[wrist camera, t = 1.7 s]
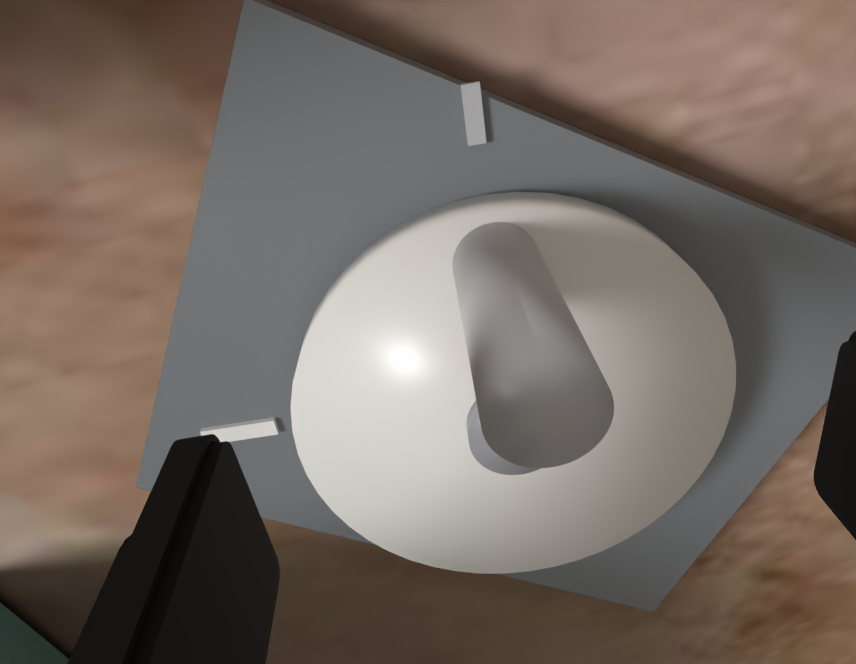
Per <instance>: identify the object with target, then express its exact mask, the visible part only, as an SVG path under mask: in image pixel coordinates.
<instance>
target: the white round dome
mask: <svg viewBox="0 0 856 664" xmlns="http://www.w3.org/2000/svg"><path fill="white" fill-rule="evenodd" d="M735 390H736V360H735V354H734V347H733V340H732V337H731V334H730V331H729V328H728V325H727V322H726V319H725V316H724V314H723V313H722V311H721V309H720V307H719V305H718V303H717V301H716V299H715V298H714V296H713V294H712V293H711V291H710V290H709V289H708V287H707V286H706V285H705V284H704V282H703V281H702V280H701V278H700V277H699V276H698V274H697V273H696V272H695V271H694V270H693V269H692V268H691V267H690V266H689V265H688V264H687V263H686V262H685V261H684V260H683V259H682V258H681V257H680V256H679V255H678V254H677V253H676V252H675V251H674V250H673V249H671V248H670V247H669V246H668V245H667V244H666V243H665V242H664V241H663V240H662V239H661V238H660V237H658V236H657V235H656V234H655V233H653V232H652V231H650V230H649V229H647V228H646V227H644V226H643V225H641V224H640V223H638V222H637V221H635V220H634V219H632V218H630V217H628V216H626V215H624V214H622V213H619V212H617V211H615V210H613V209H611V208H609V207H607V206H603V205H600V204H597V203H594V202H590V201H587V200H584V199H581V198H577V197H571V196H565V195H558V194H552V193H541V192H508V193H498V194H488V195H481V196H477V197H472V198H468V199H464V200H459V201H455V202H451V203H448V204H446V205H443V206H440V207H437V208H435V209H432V210H429V211H427V212H424V213H421V214H419V215H418V216H416V217H414V218H412V219H410V220H408V221H406V222H404V223H402V224H400V225H398V226H396V227H394V228H393V229H391V230H390V231H389V232H387V233H386V234H384V235H383V236H381V237H380V238H379V239H377V240H376V241H374V242H373V243H371V244H370V245H369V246H368V247H366V248H365V249H364V250H363V251H362V252H361V253H360V254H359V255H358V256H357V257H356V258H354V259H353V260H352V261H351V262H350V263H349V264H348V265H347V266H346V267H345V268H344V270H343V271H342V272H341V273H340V274H339V276H338V277H337V278H336V279H335V281H334V282H333V283H332V284H331V285H330V287H329V288H328V290H327V291H326V293H325V295H324V296H323V298H322V300H321V301H320V303H319V305H318V306H317V308H316V309H315V312H314V314H313V317H312V319H311V321H310V324H309V326H308V328H307V331H306V333H305V337H304V340H303V344H302V348H301V352H300V355H299V359H298V363H297V367H296V371H295V375H294V379H293V383H292V395H291V407H290V408H291V421H292V432H293V436H294V440H295V444H296V449H297V453H298V456H299V458H300V460H301V463H302V465H303V467H304V470H305V472H306V475H307V476H308V478H309V480H310V481H311V483H312V484H313V486H314V488H315V489H316V491H317V493H318V494H319V495H320V497H321V498H322V499H323V500H324V502H325V503H326V504H327V505H328V506H329V508H330V509H331V510H332V511H333V512H334V513H335V514H336V515H337V516H338V517H339V518H340V519H341V520H343V521H344V522H345V523H346V524H347V525H348V526H349V527H350V528H352V529H353V530H355V531H356V532H357V533H359V534H360V535H362V536H363V537H364V538H366V539H367V540H369V541H371V542H372V543H374V544H376V545H378V546H380V547H382V548H383V549H385V550H387V551H389V552H391V553H394V554H396V555H399V556H401V557H404V558H406V559H408V560H411V561H415V562H418V563H421V564H425V565H428V566H432V567H436V568H441V569H447V570H452V571H458V572H469V573H480V574H505V573H516V572H527V571H534V570H540V569H545V568H550V567H555V566H559V565H563V564H566V563H570V562H574V561H577V560H580V559H583V558H585V557H588V556H591V555H593V554H596V553H599V552H601V551H604V550H606V549H608V548H610V547H612V546H614V545H616V544H618V543H620V542H622V541H624V540H626V539H628V538H629V537H631V536H632V535H634V534H636V533H637V532H639V531H641V530H642V529H644V528H646V527H647V526H648V525H650V524H651V523H652V522H654V521H655V520H656V519H658V518H659V517H660V516H662V515H663V514H664V513H666V512H667V511H668V510H669V509H670V508H671V507H672V506H673V505H674V504H675V503H676V502H677V501H678V500H679V499H681V498H682V497H683V496H684V495H685V493H686V492H687V491H688V490H689V489H690V488H691V486H692V485H693V484H694V483H695V482H696V481H697V479H698V478H699V477H700V476H701V474H702V473H703V471H704V470H705V468H706V467H707V465H708V464H709V462H710V461H711V459H712V458H713V456H714V454H715V452H716V450H717V448H718V446H719V444H720V442H721V440H722V438H723V436H724V433H725V430H726V427H727V424H728V421H729V418H730V415H731V412H732V407H733V401H734V396H735Z"/></svg>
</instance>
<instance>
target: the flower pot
mask: <svg viewBox="0 0 856 664" xmlns="http://www.w3.org/2000/svg"><path fill="white" fill-rule="evenodd" d="M68 661H69V659H68V658H67V657H66V656H65V655H64V654H62V653H61V652H60V651H59V650H58V649H56V648H55V647H54V646H53V645H51V644H50V643H49V642H48V641H47V640H45V639H44V638H43V637H42V636H41V635H39V634H38V633H37V632H36V631H35V630H33V629H32V628H31V627H30V626H29V625H27V624H26V623H25V622H24V621H23V620H21V619H20V618H19V617H18V616H16V615H15V614H14V613H13V612H12V611H10V610H9V609H8V608H7V607H5V606H4V605H3V604H2V603H1V602H0V664H67V663H68Z"/></svg>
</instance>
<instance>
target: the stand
mask: <svg viewBox="0 0 856 664" xmlns="http://www.w3.org/2000/svg"><path fill="white" fill-rule="evenodd" d="M508 192H541V193H552V194H558V195H565V196H571V197H577V198H581V199H584V200H587V201H590V202H594V203H597V204H600V205H603V206H607V207H609V208H611V209H613V210H615V211H617V212H619V213H622V214H624V215H626V216H628V217H630V218H632V219H634V220H635V221H637V222H638V223H640V224H641V225H643V226H644V227H646V228H647V229H649V230H650V231H652V232H653V233H655V234H656V235H657V236H658V237H660V238H661V239H662V240H663V241H664V242H665V243H666V244H667V245H668V246H669V247H670V248H671V249H673V250H674V251H675V252H676V253H677V254H678V255H679V256H680V257H681V258H682V259H683V260H684V261H685V262H686V263H687V264H688V265H689V266H690V267H691V268H692V269H693V270H694V271H695V272H696V273H697V274H698V276H699V277H700V278H701V280H702V281H703V282H704V284H705V285H706V286H707V287H708V289H709V290H710V291H711V293H712V294H713V296H714V298H715V299H716V301H717V303H718V305H719V307H720V309H721V311H722V313H723V314H724V316H725V319H726V322H727V325H728V328H729V331H730V334H731V337H732V340H733V347H734V354H735V360H736V390H735V396H734V401H733V407H732V412H731V415H730V418H729V421H728V424H727V427H726V430H725V433H724V436H723V438H722V440H721V442H720V444H719V446H718V448H717V450H716V452H715V454H714V456H713V458H712V459H711V461H710V462H709V464H708V465H707V467H706V468H705V470H704V471H703V473H702V474H701V476H700V477H699V478H698V479H697V481H696V482H695V483H694V484H693V485H692V486H691V488H690V489H689V490H688V491H687V492H686V493H685V495H684V496H683V497H682V498H681V499H679V500H678V501H677V502H676V503H675V504H674V505H673V506H672V507H671V508H670V509H669V510H668V511H667V512H666V513H664V514H663V515H662V516H660V517H659V518H658V519H656V520H655V521H654V522H652V523H651V524H650V525H648V526H647V527H646V528H644V529H642V530H641V531H639V532H637V533H636V534H634V535H632V536H631V537H629V538H628V539H626V540H624V541H622V542H620V543H618V544H616V545H614V546H612V547H610V548H608V549H606V550H604V551H601V552H599V553H596V554H593V555H591V556H588V557H585V558H583V559H580V560H577V561H574V562H570V563H566V564H563V565H559V566H555V567H550V568H545V569H540V570H534V571H527V572H516V573H505V574H497V575H501V576H506V577H510V578H514V579H518V580H522V581H526V582H531V583H535V584H539V585H543V586H547V587H551V588H555V589H560V590H564V591H568V592H572V593H576V594H580V595H585V596H589V597H593V598H597V599H601V600H605V601H609V602H614V603H618V604H622V605H626V606H630V607H634V608H639V609H643V610H647V611H651V612H653V611H654V610H655V609H656V608H657V607H658V605H659V604H660V603H661V602H662V600H663V599H664V598H665V597H666V596H667V594H668V593H669V592H670V591H671V590H672V588H673V587H674V586H675V585H676V583H677V582H678V581H679V580H680V579H681V577H682V576H683V575H684V574H685V573H686V571H687V570H688V569H689V568H690V566H691V565H692V564H693V563H694V562H695V560H696V559H697V558H698V557H699V556H700V554H701V553H702V552H703V551H704V549H705V548H706V547H707V546H708V545H709V543H710V542H711V541H712V540H713V539H714V537H715V536H716V535H717V534H718V532H719V531H720V530H721V529H722V528H723V526H724V525H725V524H726V523H727V522H728V520H729V519H730V518H731V517H732V516H733V514H734V513H735V512H736V511H737V509H738V508H739V507H740V506H741V505H742V503H743V502H744V501H745V500H746V499H747V497H748V496H749V495H750V494H751V492H752V491H753V490H754V489H755V488H756V486H757V485H758V484H759V483H760V482H761V480H762V479H763V478H764V477H765V475H766V474H767V473H768V472H769V471H770V469H771V468H772V467H773V466H774V465H775V463H776V462H777V461H778V460H779V458H780V457H781V456H782V455H783V454H784V452H785V451H786V450H787V449H788V448H789V446H790V445H791V444H792V443H793V441H794V440H795V439H796V438H797V437H798V435H799V434H800V433H801V432H802V431H803V429H804V428H805V427H806V426H807V424H808V423H809V422H810V421H811V420H812V418H813V417H814V416H815V415H816V414H817V412H818V411H819V410H820V409H821V407H822V406H823V405H824V404H825V403H826V401H827V400H828V399H829V396H830V391H831V387H832V382H833V377H834V372H835V367H836V362H837V357H838V352H839V349H840V346H841V345H842V344H843V343H844V342H846V341H848V340H849V337H850V336H851V334H852V333H853V332H854V331H856V243H855V242H853V241H850V240H848V239H845V238H843V237H840V236H838V235H836V234H833V233H831V232H828V231H826V230H823V229H821V228H819V227H816V226H814V225H811V224H809V223H806V222H804V221H802V220H799V219H797V218H794V217H792V216H790V215H787V214H785V213H782V212H780V211H777V210H775V209H773V208H770V207H768V206H765V205H763V204H760V203H758V202H756V201H753V200H751V199H748V198H746V197H743V196H741V195H739V194H736V193H734V192H731V191H729V190H726V189H724V188H722V187H719V186H717V185H714V184H712V183H709V182H707V181H705V180H702V179H700V178H697V177H695V176H692V175H690V174H688V173H685V172H683V171H680V170H678V169H676V168H673V167H671V166H668V165H666V164H663V163H661V162H659V161H656V160H654V159H651V158H649V157H646V156H644V155H642V154H639V153H637V152H634V151H632V150H629V149H627V148H625V147H622V146H620V145H617V144H615V143H612V142H610V141H608V140H605V139H603V138H600V137H598V136H595V135H593V134H591V133H588V132H586V131H583V130H581V129H578V128H576V127H574V126H571V125H569V124H566V123H564V122H561V121H559V120H557V119H554V118H552V117H549V116H547V115H545V114H542V113H540V112H537V111H535V110H532V109H530V108H528V107H525V106H523V105H520V104H518V103H515V102H513V101H511V100H508V99H506V98H503V97H501V96H498V95H496V94H494V93H491V92H489V91H486V90H484V89H481V88H480V81H476V82H470V83H467V82H464V81H462V80H460V79H457V78H455V77H452V76H450V75H447V74H445V73H443V72H440V71H438V70H435V69H433V68H431V67H428V66H426V65H423V64H421V63H418V62H416V61H414V60H411V59H409V58H406V57H404V56H401V55H399V54H397V53H394V52H392V51H389V50H387V49H384V48H382V47H380V46H377V45H375V44H372V43H370V42H367V41H365V40H363V39H360V38H358V37H355V36H353V35H350V34H348V33H346V32H343V31H341V30H338V29H336V28H333V27H331V26H329V25H326V24H324V23H321V22H319V21H317V20H314V19H312V18H309V17H307V16H304V15H302V14H300V13H297V12H295V11H292V10H290V9H287V8H285V7H283V6H280V5H278V4H275V3H273V2H270V1H268V0H244V2H243V6H242V11H241V15H240V20H239V24H238V29H237V33H236V38H235V42H234V47H233V51H232V56H231V60H230V65H229V69H228V74H227V79H226V83H225V88H224V92H223V97H222V101H221V106H220V110H219V115H218V119H217V124H216V128H215V133H214V137H213V142H212V146H211V151H210V156H209V160H208V165H207V169H206V174H205V178H204V183H203V187H202V192H201V196H200V201H199V205H198V210H197V214H196V219H195V223H194V228H193V232H192V237H191V242H190V246H189V251H188V255H187V260H186V264H185V269H184V273H183V278H182V282H181V287H180V291H179V296H178V300H177V305H176V309H175V314H174V319H173V323H172V328H171V332H170V337H169V341H168V346H167V350H166V355H165V359H164V364H163V368H162V373H161V377H160V382H159V386H158V391H157V395H156V400H155V405H154V409H153V414H152V418H151V423H150V427H149V432H148V436H147V441H146V445H145V450H144V454H143V459H142V463H141V468H140V472H139V477H138V481H137V486H136V488H140V489H144V490H148V491H151V490H152V488H153V486H154V484H155V481H156V479H157V477H158V475H159V472H160V470H161V468H162V466H163V463H164V461H165V459H166V457H167V454H168V452H169V450H170V448H171V446H172V444H173V443H174V441H176V440H178V439H184V438H190V437H197V436H203V435H209V434H213V435H216V436H217V437H218V439H219V440H220V442H225V441H227V442H229V443H230V444H231V445H232V447H233V449H234V452H235V454H236V457H237V459H238V462H239V464H240V467H241V469H242V471H243V474H244V476H245V479H246V481H247V484H248V486H249V489H250V491H251V494H252V496H253V499H254V501H255V504H256V506H257V509H258V511H259V514H260V516H261V518H265V519H269V520H273V521H277V522H281V523H286V524H290V525H294V526H298V527H302V528H306V529H310V530H315V531H319V532H323V533H327V534H331V535H335V536H340V537H344V538H348V539H352V540H356V541H360V542H364V543H369V544H373V545H376V544H374V543H372V542H371V541H369V540H367V539H366V538H364V537H363V536H362V535H360V534H359V533H357V532H356V531H355V530H353V529H352V528H350V527H349V526H348V525H347V524H346V523H345V522H344V521H343V520H341V519H340V518H339V517H338V516H337V515H336V514H335V513H334V512H333V511H332V510H331V509H330V508H329V506H328V505H327V504H326V503H325V502H324V500H323V499H322V498H321V497H320V495H319V494H318V493H317V491H316V489H315V488H314V486H313V484H312V483H311V481H310V480H309V478H308V476H307V475H306V472H305V470H304V467H303V465H302V463H301V460H300V458H299V456H298V453H297V449H296V444H295V440H294V436H293V432H292V421H291V408H290V407H291V395H292V383H293V379H294V375H295V371H296V367H297V363H298V359H299V355H300V352H301V348H302V344H303V340H304V337H305V333H306V331H307V328H308V326H309V324H310V321H311V319H312V317H313V314H314V312H315V309H316V308H317V306H318V305H319V303H320V301H321V300H322V298H323V296H324V295H325V293H326V291H327V290H328V288H329V287H330V285H331V284H332V283H333V282H334V281H335V279H336V278H337V277H338V276H339V274H340V273H341V272H342V271H343V270H344V268H345V267H346V266H347V265H348V264H349V263H350V262H351V261H352V260H353V259H354V258H356V257H357V256H358V255H359V254H360V253H361V252H362V251H363V250H364V249H365V248H366V247H368V246H369V245H370V244H371V243H373V242H374V241H376V240H377V239H379V238H380V237H381V236H383V235H384V234H386V233H387V232H389V231H390V230H391V229H393V228H394V227H396V226H398V225H400V224H402V223H404V222H406V221H408V220H410V219H412V218H414V217H416V216H418V215H419V214H421V213H424V212H427V211H429V210H432V209H435V208H437V207H440V206H443V205H446V204H448V203H451V202H455V201H459V200H464V199H468V198H472V197H477V196H481V195H488V194H498V193H508ZM377 546H378V545H377Z"/></svg>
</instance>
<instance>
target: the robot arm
mask: <svg viewBox="0 0 856 664" xmlns="http://www.w3.org/2000/svg"><path fill="white" fill-rule="evenodd" d="M814 483H815V486H816V489H817V491H818V493H819V495H820V497H821V498H822V499H823V501H824V502H825V503H826V504H827V506H828V507H829V508H830V509H831V510H832V512H833V513H834V514H835V515H836V516H837V518H838V519H839V520H840V521H841V523H842V524H843V525H844V526H845V527H846V529H847V530H848V531H849V532H850V533H851V535H852V536H853V537H854V538H855V540H856V331H854V332H853V333H852V334H851V336H850V337H849V340H848V341H846V342H844V343H843V344H842V345H841V346H840V349H839V352H838V357H837V362H836V367H835V372H834V377H833V382H832V387H831V391H830V396H829V401H828V406H827V411H826V416H825V421H824V426H823V431H822V436H821V440H820V445H819V450H818V455H817V460H816V465H815V470H814ZM279 578H280V571H279V563H278V559H277V556H276V553H275V551H274V548H273V546H272V543H271V541H270V538H269V536H268V533H267V531H266V529H265V526H264V524H263V521H262V519H261V516H260V514H259V511H258V509H257V506H256V504H255V501H254V499H253V496H252V494H251V491H250V489H249V486H248V484H247V481H246V479H245V476H244V474H243V471H242V469H241V467H240V464H239V462H238V459H237V457H236V454H235V452H234V449H233V447H232V445H231V444H230V443H229V442H227V441H225V442H220V440H219V439H218V437H217V436H216V435H213V434H209V435H203V436H197V437H190V438H184V439H178V440H176V441H174V443H173V444H172V446H171V448H170V450H169V452H168V454H167V457H166V459H165V461H164V463H163V466H162V468H161V470H160V472H159V475H158V477H157V479H156V481H155V484H154V486H153V488H152V490H151V493H150V495H149V497H148V499H147V502H146V504H145V506H144V508H143V511H142V513H141V515H140V517H139V520H138V522H137V524H136V526H135V529H134V531H133V533H132V535H131V536H129V537H128V538H127V539H126V540H125V541H124V543H123V544H122V546H121V547H120V549H119V551H118V553H117V556H116V558H115V560H114V562H113V564H112V567H111V569H110V571H109V573H108V575H107V578H106V580H105V582H104V584H103V586H102V589H101V591H100V593H99V595H98V597H97V600H96V602H95V604H94V606H93V608H92V611H91V613H90V615H89V617H88V619H87V622H86V624H85V626H84V628H83V630H82V633H81V635H80V637H79V639H78V641H77V644H76V646H75V648H74V650H73V652H72V655H71V657H70V659H69V661H68V663H67V664H265V662H266V656H267V650H268V644H269V639H270V633H271V627H272V621H273V615H274V609H275V604H276V598H277V592H278V586H279Z"/></svg>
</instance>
